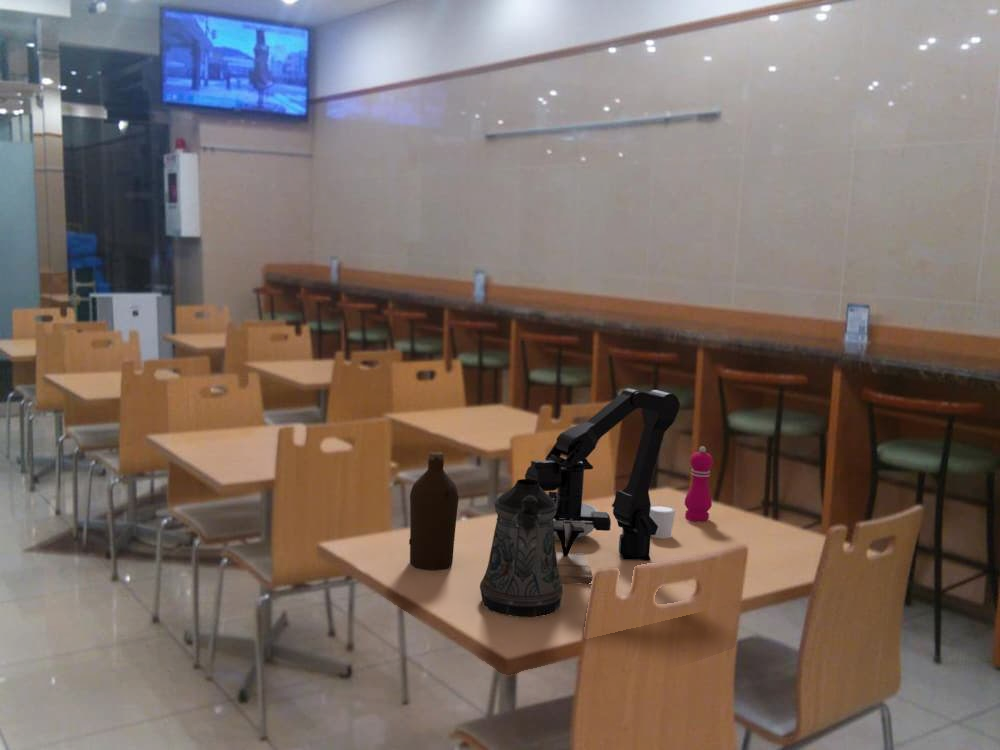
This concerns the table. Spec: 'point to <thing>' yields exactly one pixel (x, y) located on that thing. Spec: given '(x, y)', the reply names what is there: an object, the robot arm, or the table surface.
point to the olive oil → (433, 517)
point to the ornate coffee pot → (523, 554)
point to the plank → (571, 559)
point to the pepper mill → (699, 487)
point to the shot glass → (662, 520)
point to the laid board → (575, 574)
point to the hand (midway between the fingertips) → (565, 555)
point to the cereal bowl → (588, 528)
